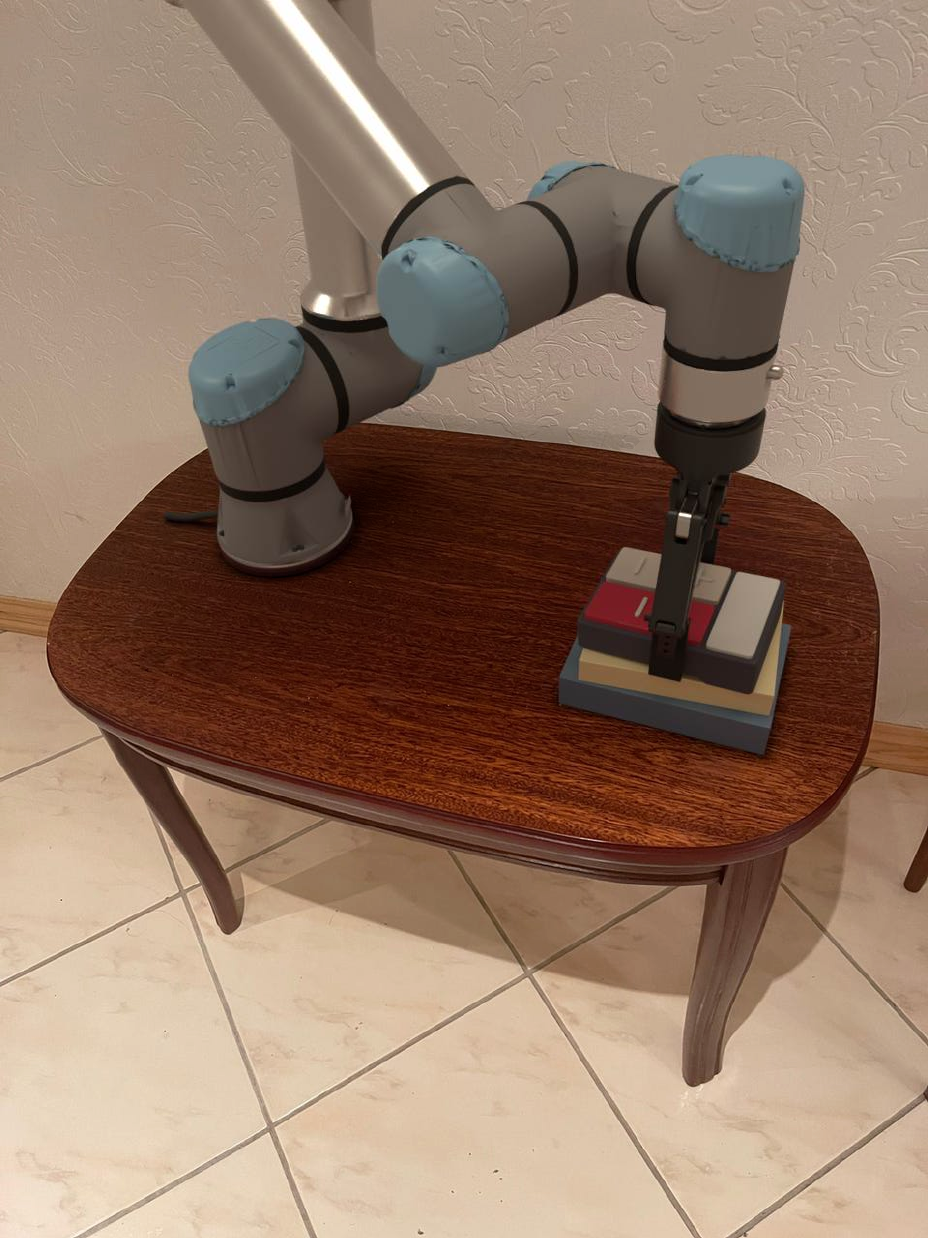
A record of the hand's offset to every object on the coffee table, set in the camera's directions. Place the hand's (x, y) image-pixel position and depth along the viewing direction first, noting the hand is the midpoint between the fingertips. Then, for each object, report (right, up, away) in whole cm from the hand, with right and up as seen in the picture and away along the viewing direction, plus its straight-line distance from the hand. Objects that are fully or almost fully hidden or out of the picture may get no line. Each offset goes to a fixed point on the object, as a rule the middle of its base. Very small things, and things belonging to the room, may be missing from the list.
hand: (680, 628), depth 77 cm
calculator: (0, 0, 0) cm, 0 cm away
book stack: (0, -5, +4) cm, 6 cm away
